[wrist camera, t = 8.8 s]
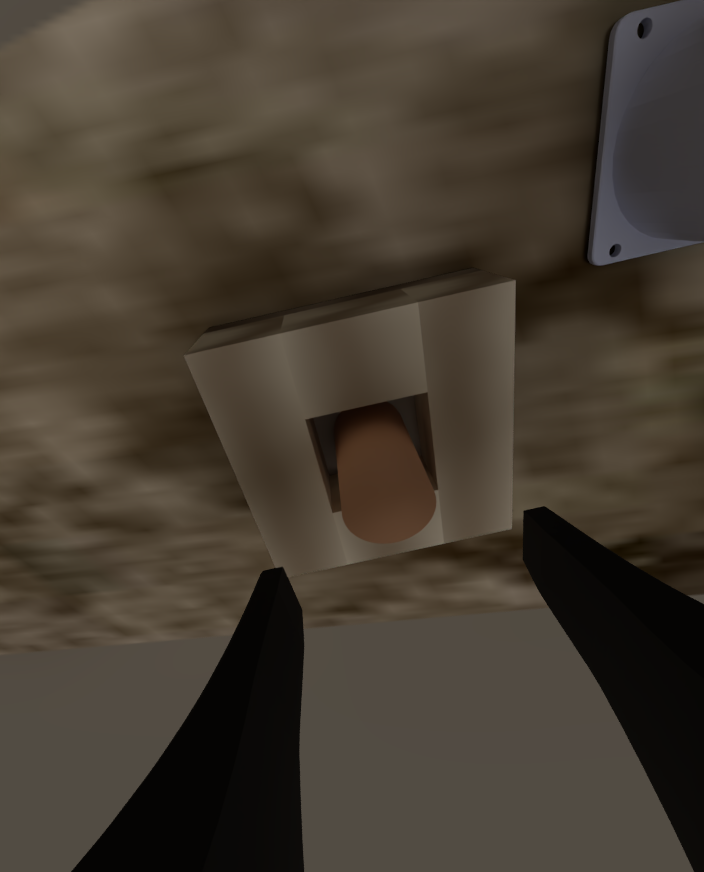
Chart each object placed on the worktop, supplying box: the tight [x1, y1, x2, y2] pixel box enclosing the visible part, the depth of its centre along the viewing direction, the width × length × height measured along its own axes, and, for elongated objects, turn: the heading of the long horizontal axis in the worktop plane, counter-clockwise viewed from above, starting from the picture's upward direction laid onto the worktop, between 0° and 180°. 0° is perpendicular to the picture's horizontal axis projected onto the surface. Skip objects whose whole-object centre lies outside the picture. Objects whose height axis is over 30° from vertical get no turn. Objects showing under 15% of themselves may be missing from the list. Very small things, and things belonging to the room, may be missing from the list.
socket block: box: [184, 268, 516, 577], centre depth 18 cm, size 12×12×4 cm
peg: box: [334, 401, 436, 544], centre depth 17 cm, size 4×4×6 cm
